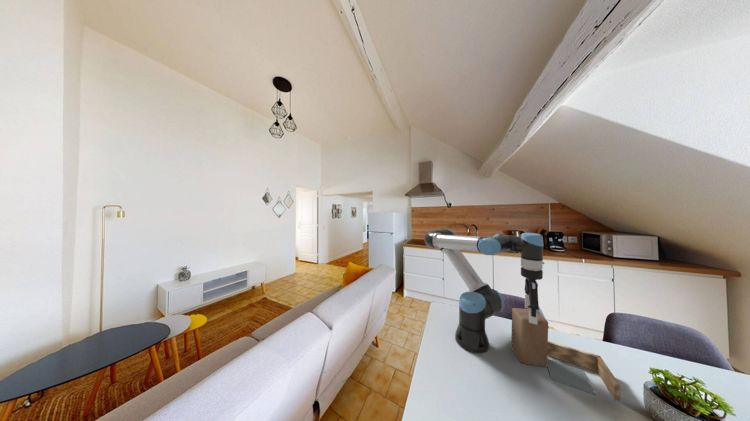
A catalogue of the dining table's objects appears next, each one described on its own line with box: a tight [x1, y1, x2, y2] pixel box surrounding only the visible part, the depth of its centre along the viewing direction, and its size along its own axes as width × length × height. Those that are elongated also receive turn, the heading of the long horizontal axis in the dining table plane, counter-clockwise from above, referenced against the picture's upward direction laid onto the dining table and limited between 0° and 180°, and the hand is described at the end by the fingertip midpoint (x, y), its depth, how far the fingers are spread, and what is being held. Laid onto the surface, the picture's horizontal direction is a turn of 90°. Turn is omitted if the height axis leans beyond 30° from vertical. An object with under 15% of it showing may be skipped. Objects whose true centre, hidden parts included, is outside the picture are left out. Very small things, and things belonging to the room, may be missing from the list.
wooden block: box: [510, 307, 549, 367], centre depth 87 cm, size 10×10×20 cm
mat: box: [546, 358, 596, 396], centre depth 78 cm, size 12×12×1 cm
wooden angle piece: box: [547, 340, 621, 402], centre depth 78 cm, size 17×15×6 cm
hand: (530, 315), depth 86 cm, fingers open, 13 cm apart
